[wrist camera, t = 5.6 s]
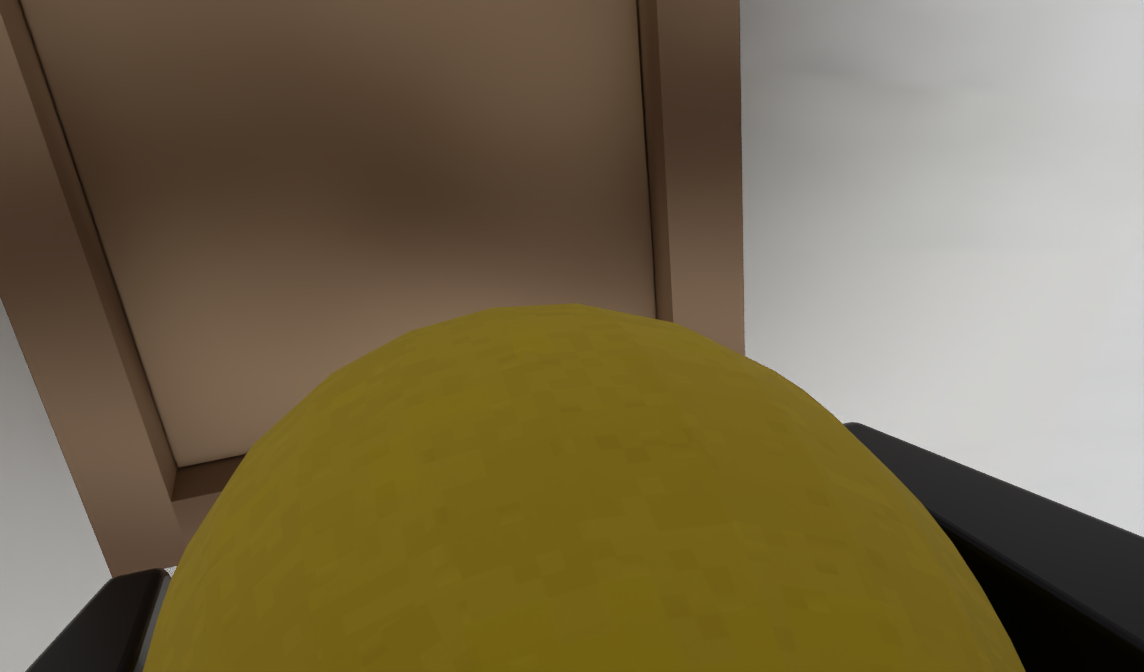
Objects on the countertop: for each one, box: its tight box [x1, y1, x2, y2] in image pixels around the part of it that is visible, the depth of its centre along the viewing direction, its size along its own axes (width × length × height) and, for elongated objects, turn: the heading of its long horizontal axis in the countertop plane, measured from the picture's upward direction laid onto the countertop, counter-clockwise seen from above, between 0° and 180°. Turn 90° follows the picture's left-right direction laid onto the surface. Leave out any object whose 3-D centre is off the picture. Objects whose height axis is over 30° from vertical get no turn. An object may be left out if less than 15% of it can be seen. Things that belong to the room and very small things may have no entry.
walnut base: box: [0, 0, 745, 578], centre depth 17 cm, size 11×11×4 cm
